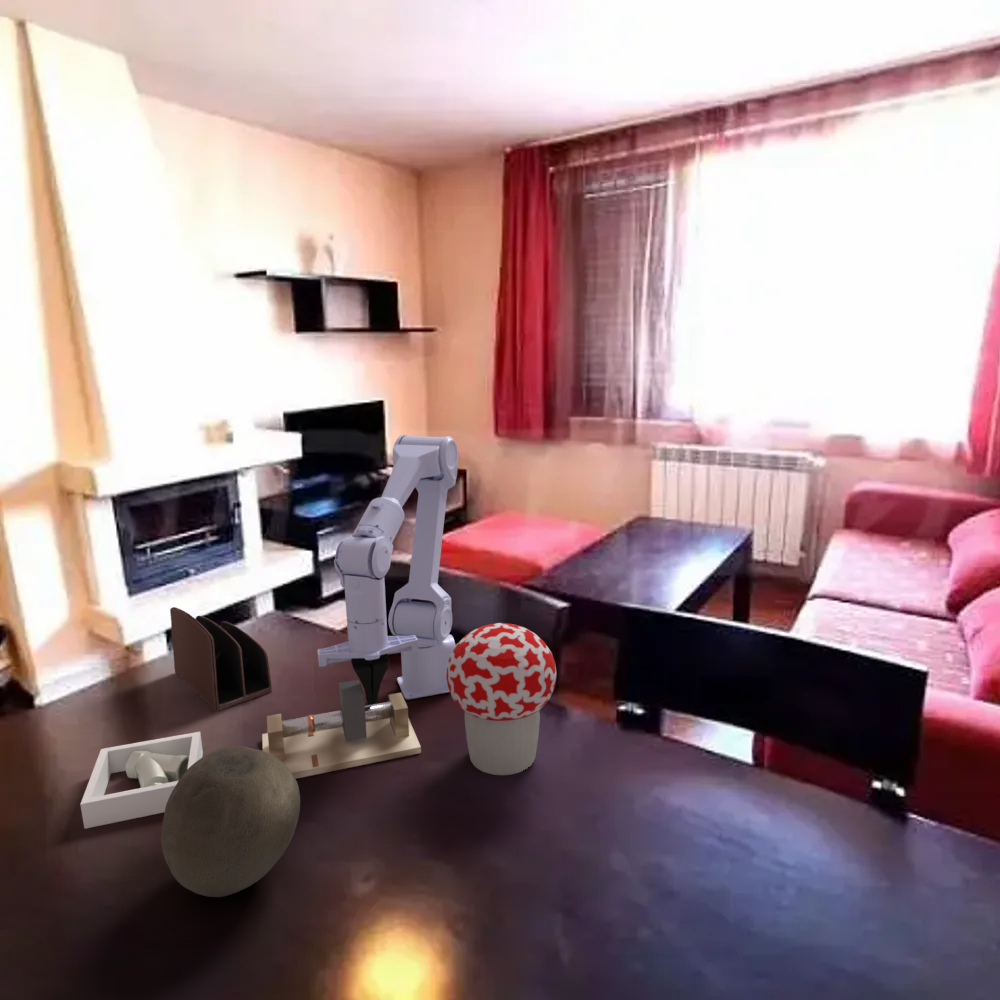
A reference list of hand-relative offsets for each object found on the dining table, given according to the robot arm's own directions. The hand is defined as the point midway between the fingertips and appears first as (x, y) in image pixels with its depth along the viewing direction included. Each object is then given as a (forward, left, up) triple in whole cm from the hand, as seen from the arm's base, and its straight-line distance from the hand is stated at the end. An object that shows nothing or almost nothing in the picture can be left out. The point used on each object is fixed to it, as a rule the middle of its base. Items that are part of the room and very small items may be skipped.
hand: (371, 701), depth 105 cm
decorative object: (-17, +11, -7) cm, 21 cm away
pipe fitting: (+31, 0, -7) cm, 31 cm away
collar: (+3, 0, -4) cm, 5 cm away
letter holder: (+23, -29, -7) cm, 37 cm away
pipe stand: (+5, 0, -6) cm, 8 cm away
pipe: (+5, 0, -3) cm, 6 cm away
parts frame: (+31, +1, -6) cm, 32 cm away
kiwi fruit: (+19, +23, -7) cm, 31 cm away
